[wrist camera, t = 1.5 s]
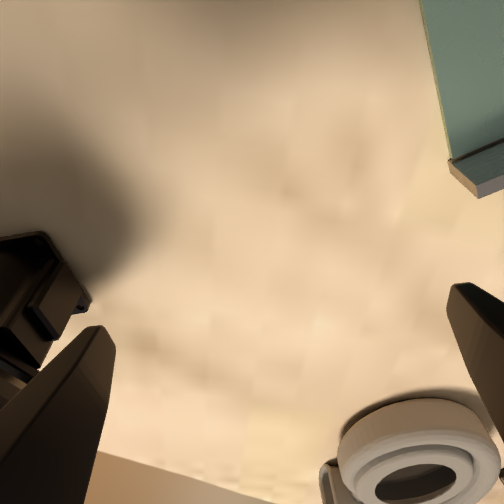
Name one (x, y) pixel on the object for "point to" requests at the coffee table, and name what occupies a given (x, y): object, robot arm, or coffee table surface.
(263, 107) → the coffee table surface
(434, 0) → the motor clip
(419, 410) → the turbocharger housing
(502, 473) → the portable cd player
